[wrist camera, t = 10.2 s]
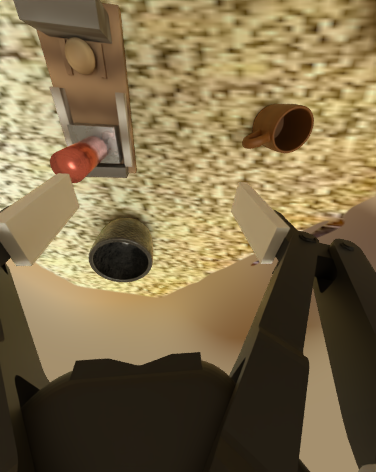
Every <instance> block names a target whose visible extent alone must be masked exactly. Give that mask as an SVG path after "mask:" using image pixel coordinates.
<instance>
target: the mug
mask: <svg viewBox="0 0 376 472" xmlns="http://www.w3.org/2000/svg"><path fill="white" fill-rule="evenodd" d="M313 124H314V118H313V114H312V112H311V110H310V109H309V108H307V107H306V106H302V105H297V104H273V105H269V106H267V107H265V108H264V109H263V110H261V111H260V112H259V114H258V115H257V117H256V118H255V121H254V124H253V133H252V134H250V135H248V136H246V137H245V138H244V139H243V141H242V145H243V147H244V148H247V149H251V148H256V147H259V146H262V145H263V146H265V147H267V148H270V149H272V150H274V151H277V152H281V153H290V152H293V151H295V150H297V149H298V148H300V147H301V146H302V145H303V144H304V143H305V142H306V141H307V139H308V138H309V136H310V134H311V132H312V129H313Z"/></svg>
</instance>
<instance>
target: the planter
mask: <svg viewBox="0 0 376 472" xmlns="http://www.w3.org/2000/svg"><path fill="white" fill-rule="evenodd" d="M89 263H90V265H91V267H92V269H93V270H94V271H95V272H96V273H97V274H98V275H100V276H101V277H103V278H105V279H108V280H111V281H116V282H132V281H136V280H138V279H141V278H143V277H144V276H145V275H147V274H148V273H149V271H150V270H151V267H152V263H153V243H152V237H151V234H150V231H149V229H148V228H147V227H146V226H145V225H144V224H143V223H142V222H140V221H138V220H136V219H133V218H127V217H124V218H118V219H115V220H113V221H111V222H110V223H108V224H107V225H106V226H105V227H104V228H103V230H102V231H101V233H100V234H99V236H98V237H97V239H96V241H95V242H94V244H93V246H92V248H91V250H90V253H89Z"/></svg>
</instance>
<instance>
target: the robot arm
mask: <svg viewBox="0 0 376 472" xmlns="http://www.w3.org/2000/svg"><path fill="white" fill-rule="evenodd" d="M78 208H79V204H78V201H77V198H76V194H75V191H74V188H73V185H72V182H71V179H70V175H69V174H61V173H58V174H56V175H55V176H53V177H52V178H50V179H49V180H47V181H46V182H44V183H43V184H42V185H40V186H39V187H37V188H36V189H34V190H33V191H31V192H30V193H28V194H27V195H25V196H24V197H23V198H21V199H20V200H18V201H17V202H15V203H14V204H12V205H10V206H8V207H6V208H4V209H3V210H1V211H0V472H310V471H309V470H308V469H307V467H306V466H305V465H304V464H303V463H302V461H301V460H300V459H299V452H300V443H301V434H302V426H303V418H304V410H305V401H306V392H307V384H308V375H309V360H308V358H307V357H305V356H304V355H303V347H304V341H305V334H306V328H307V321H308V315H309V308H310V301H311V294H312V288H313V289H314V293H315V298H316V302H317V307H318V311H319V316H320V320H321V325H322V329H323V333H324V337H325V342H326V347H327V351H328V355H329V360H330V365H331V369H332V374H333V378H334V383H335V387H336V392H337V396H338V401H339V405H340V409H341V414H342V418H343V422H344V425H345V429H346V433H347V437H348V440H349V443H350V445H351V449H352V451H353V454H354V457H355V460H356V463H357V465H358V468H359V472H376V272H375V271H374V269H373V267H372V266H371V264H370V263H369V261H368V259H367V258H366V256H365V255H364V253H363V251H362V250H361V249H360V248H359V247H358V246H357V245H355V244H354V243H353V242H351V241H348V240H344V239H335V240H334V241H333V242H332V243H331V245H327V244H322V243H319V240H318V239H317V238H316V237H315V236H313V235H311V234H309V233H306V232H303V231H298V230H297V229H296V228H295V227H294V226H293V225H292V224H291V223H290V222H288V220H287V219H285V217H284V216H283V215H282V214H281V213H279V212H277V211H276V210H273V209H272V208H271V207H270V206H269V205H268V204H267V203H266V202H265V201H264V200H263V199H262V198H261V197H260V196H259V195H258V193H257V192H256V191H255V190H254V189H253V188H252V187H251V186H250V185H249V184H248V183H243V182H238V186H237V190H236V194H235V198H234V202H233V206H232V210H231V212H232V214H233V216H234V218H235V219H236V221H237V223H238V225H239V226H240V228H241V230H242V232H243V234H244V235H245V237H246V239H247V241H248V242H249V244H250V246H251V248H252V250H253V251H254V253H255V255H256V257H257V258H258V260H259V262H260V263H261V264H272V262H273V260H274V258H275V257H276V258H277V259H278V261H279V262H278V263H277V265H276V267H275V269H274V271H273V273H272V274H273V275H272V277H271V280H270V282H269V284H268V287H267V290H266V292H265V294H264V297H263V299H262V301H261V304H260V306H259V308H258V311H257V313H256V316H255V318H254V320H253V323H252V325H251V328H250V330H249V333H248V335H247V337H246V340H245V342H244V344H243V347H242V349H241V352H240V354H239V356H238V359H237V361H236V363H235V365H234V367H233V369H232V371H231V373H230V375H229V376H228V375H227V374H226V373H225V372H224V371H222V370H221V369H220V368H218V367H216V366H215V365H213V364H210V363H208V362H205V361H202V360H201V355H200V352H197V353H196V352H195V353H181V354H171V355H168V356H165V357H163V358H160V359H158V360H154V361H152V362H149V363H146V364H144V365H133V364H129V363H125V362H121V361H117V360H112V359H94V360H81V361H76V362H75V365H74V368H73V371H71V372H68V373H66V374H64V375H62V376H60V377H58V378H57V379H55V380H54V381H52V382H49V380H48V379H47V377H46V375H45V374H44V371H43V369H42V366H41V363H40V360H39V357H38V354H37V351H36V348H35V345H34V342H33V339H32V336H31V333H30V330H29V327H28V324H27V321H26V318H25V315H24V312H23V309H22V306H21V303H20V300H19V297H18V294H17V291H16V288H15V285H14V282H13V279H12V276H11V273H10V270H9V267H8V266H7V265H6V262H7V261H8V260H9V259H10V258H11V259H12V260H13V262H14V263H15V264H16V266H32V265H33V264H34V263H35V261H36V260H37V259H38V258H39V256H40V255H41V254H42V253H43V251H44V250H45V249H46V248H47V247H48V245H49V244H50V243H51V242H52V240H53V239H54V238H55V237H56V235H57V234H58V233H59V232H60V230H61V229H62V228H63V227H64V226H65V224H66V223H67V222H68V221H69V219H70V218H71V217H72V216H73V214H74V213H75V212H76V211H77V209H78Z"/></svg>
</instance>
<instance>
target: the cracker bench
mask: <svg viewBox="0 0 376 472" xmlns="http://www.w3.org/2000/svg"><path fill="white" fill-rule="evenodd" d="M14 3H15V7H16V10H17V13H18V16H19V19H20V20H22V21H23V22H25V23H27V24H29V25H30V26H32V27H34V28H36V29H37V33H38V36H39V40H40V43H41V46H42V50H43V53H44V57H45V60H46V64H47V67H48V70H49V74H50V77H51V81H52V84H53V87H50V90H51V93H52V97H53V100H54V103H55V107H56V110H57V113H58V117H59V120H60V123H61V127H62V130H63V133H64V136H65V140H66V143H67V146H70V145H72V141H71V138H70V134H69V131H68V127H67V124H72V123H92V124H108V125H119V131H120V139H121V146H122V153H123V160H122V161H121V163H120V164H114V163H99V164H98V165H97V166H96V167H95V168H94V169H93V170H92V171H91V172H90V173H89V174H88V175H87V176H86V177H116V178H127V176H128V174H129V173H136V171H137V168H136V158H135V149H134V139H133V129H132V119H131V109H130V100H129V90H128V80H127V70H126V60H125V51H124V41H123V31H122V21H121V11H120V9H119V7H118V5H113V4H106V3H101V2H100V0H14ZM72 37H77V38H80V39H82V40H83V41H85V42H86V43H87V44H88V45H89V46H90V48H91V49H92V51H93V54H94V56H95V68H94V70H93V72H92V73H90V74H88V75H83V74H80V73H78V72H77V71H75V70H74V69H73V68H72V67H71V66H70V64H69V63H68V61H67V59H66V56H65V44H66V42H67V40H68V39H70V38H72Z"/></svg>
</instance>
